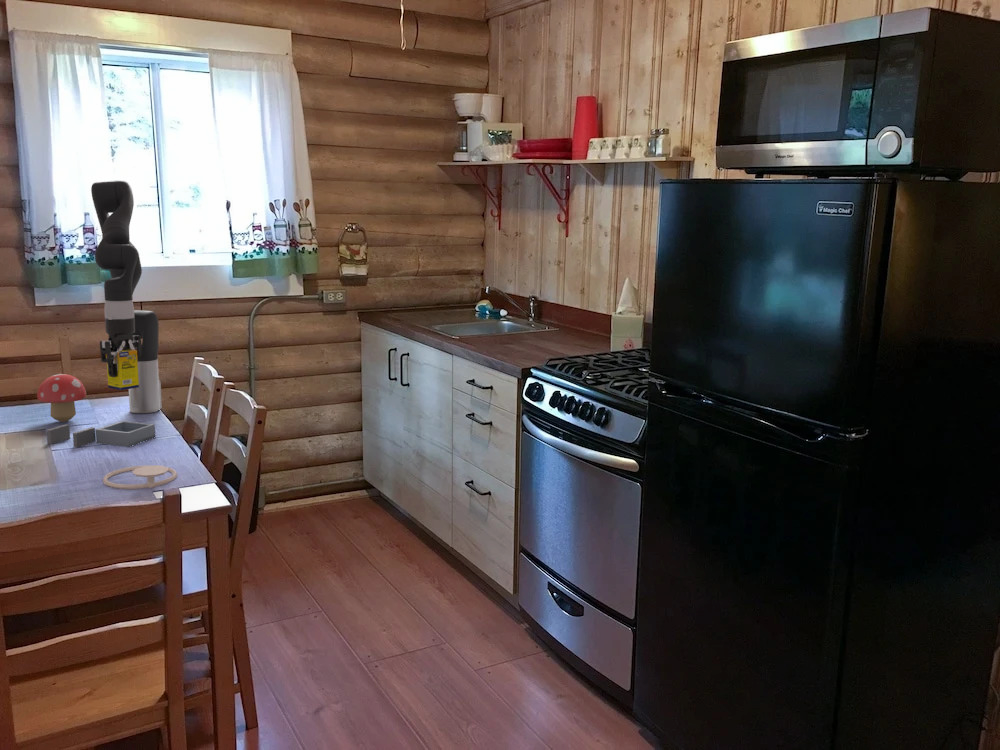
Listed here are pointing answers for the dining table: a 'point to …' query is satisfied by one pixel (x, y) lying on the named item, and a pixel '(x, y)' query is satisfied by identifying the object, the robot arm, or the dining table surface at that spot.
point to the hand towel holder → (142, 472)
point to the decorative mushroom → (61, 395)
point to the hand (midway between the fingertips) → (122, 374)
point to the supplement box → (125, 371)
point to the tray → (125, 433)
